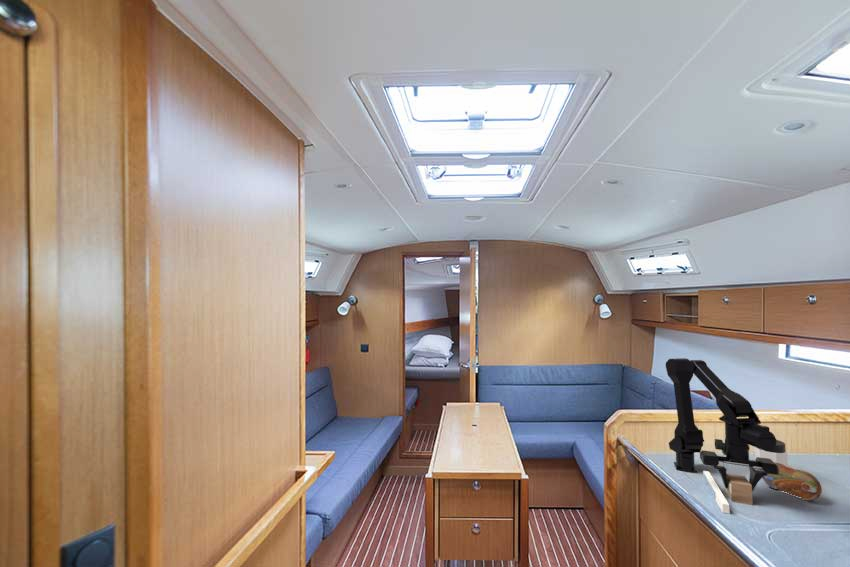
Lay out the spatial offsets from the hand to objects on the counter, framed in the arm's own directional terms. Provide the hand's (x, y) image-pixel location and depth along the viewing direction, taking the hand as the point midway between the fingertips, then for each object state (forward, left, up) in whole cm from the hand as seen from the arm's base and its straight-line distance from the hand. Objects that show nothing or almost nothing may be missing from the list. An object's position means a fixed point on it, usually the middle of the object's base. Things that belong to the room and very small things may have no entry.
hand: (738, 489), depth 124 cm
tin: (-10, +16, -3) cm, 19 cm away
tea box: (0, 0, -3) cm, 3 cm away
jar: (-23, +15, -3) cm, 28 cm away
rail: (0, -6, -2) cm, 6 cm away
